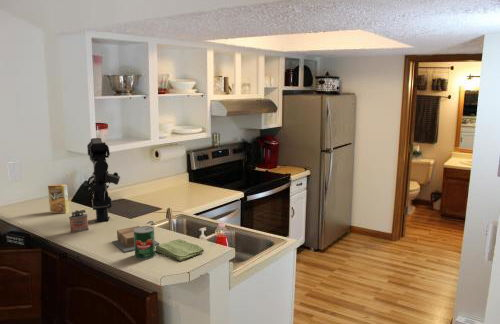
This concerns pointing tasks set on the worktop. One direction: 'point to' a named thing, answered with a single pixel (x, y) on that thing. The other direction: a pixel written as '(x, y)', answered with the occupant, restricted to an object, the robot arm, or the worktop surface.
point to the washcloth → (179, 249)
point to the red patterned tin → (78, 222)
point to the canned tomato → (144, 242)
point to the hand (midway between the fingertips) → (102, 201)
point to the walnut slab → (126, 236)
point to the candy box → (58, 198)
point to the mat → (124, 248)
